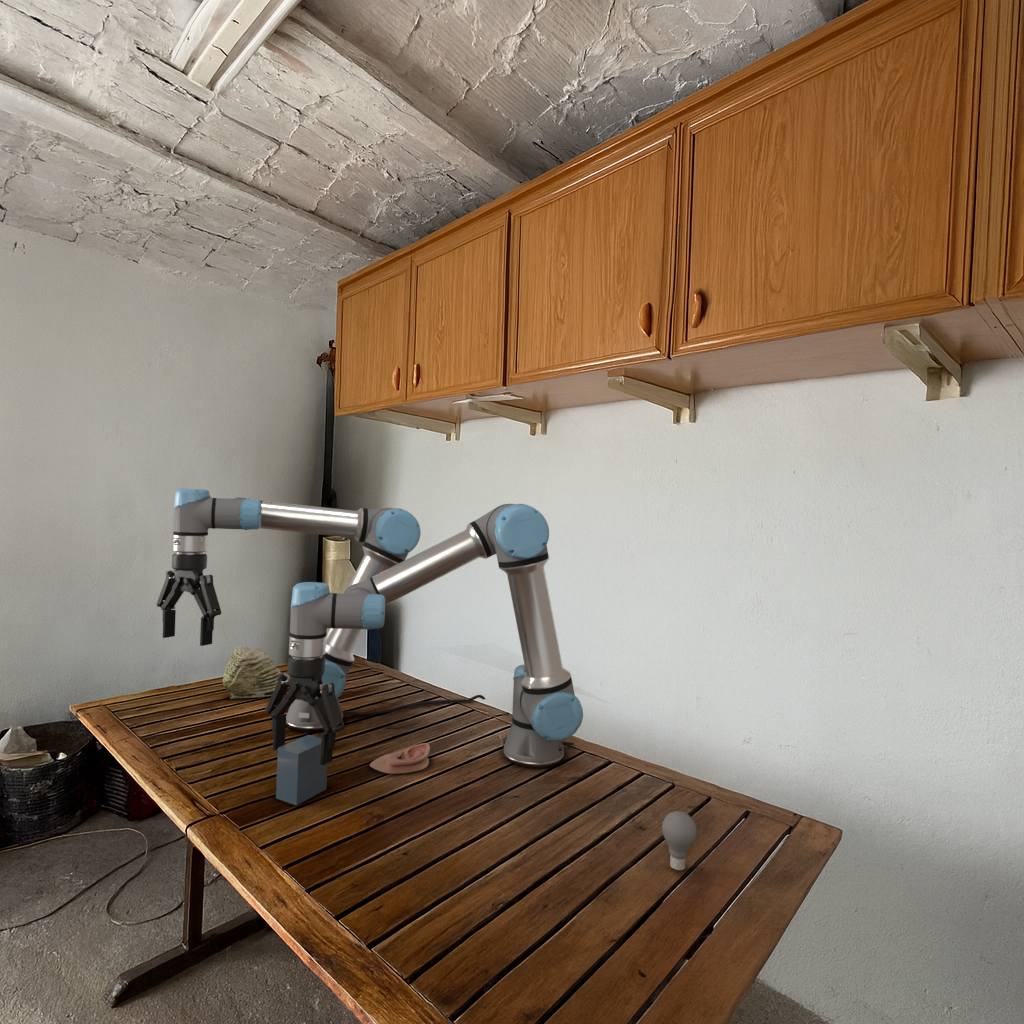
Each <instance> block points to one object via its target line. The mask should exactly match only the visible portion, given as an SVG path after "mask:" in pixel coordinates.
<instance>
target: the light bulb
mask: <svg viewBox="0 0 1024 1024" xmlns="http://www.w3.org/2000/svg"><path fill="white" fill-rule="evenodd" d="M661 831H662V836H663V837H664V839H665V842H666V844H667V847H668V852H669V855H670V858H669V859H670V860H669V866H670V867H671V868H672V869H674V870H676V871H683V870H685V869H686V858H687V856H688V854H689V850H690V848H691V847H692V846H693V844H694V842H695V841H696V838H697V835H698V830H697V824H696V823H695V821H694V820H693V818H692V817H691V816H690V815H689V814H688V813H687V812H684V811H680V810H674V811H671V812H669V813H668V814H667V815H666V816H665V817H664V818H663V821H662V824H661Z"/></svg>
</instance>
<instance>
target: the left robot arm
mask: <svg viewBox="0 0 1024 1024" xmlns="http://www.w3.org/2000/svg"><path fill="white" fill-rule="evenodd" d="M172 520H173V522H172V523H173V524H172V525H173V526H172V528H173V529H172V531H173V532H172V535H173V537H172V552H175V553H173V554H172V556H171V568H172V569H171V570H166V573H165V580H164V582H163V585H162V588H161V591H160V593H159V596H158V598H157V601H156V604H155V605H156V607H157V608H160V609H161V611H162V638H163V639H166V638H172V637H175V636H176V616H177V615H176V614H177V613H176V612H177V610H176V605H177V603H178V602H179V600H180V598H181V597H182V595H183V594H184V593H185V592H186V593H189V594H190V595H192V596H193V598H194V601H195V602H196V604H197V606H198V608H199V610H200V612H201V614H202V615H201V617H200V632H199V634H200V635H199V646H200V647H203V646H209V645H213V636H214V635H213V634H214V630H215V618H216V617H218V616H220V615H222V608H221V606H220V605H221V604H220V603H219V599H218V596H217V592H216V588H215V586H214V575H213V574H205V575H204V570H206V569H207V568H208V554H207V553H206V552H208V551H209V529H213V530H216V529H221V530H244V531H248V530H249V531H250V530H258V529H263V530H272V531H273V530H274V531H281V532H292V533H293V532H294V533H302V534H312V535H323V536H333V537H341V538H353V539H354V540H355V541H356V542H357V543H363V545H362V551H363V554H364V555H363V557H362V559H361V561H360V563H359V565H358V567H357V569H356V571H355V573H354V574H353V577H352V578H351V581H350V582H349V585H348V587H350V586H351V585H353V584H355V583H361V582H363V581H365V580H367V579H369V578H371V577H373V576H375V575H377V574H379V573H381V572H383V571H385V570H387V569H389V568H391V567H393V566H395V565H397V564H399V563H401V562H403V561H405V560H407V557H408V556H409V553H411V552H412V551H413V550H414V549H415V548H416V547H417V545H418V544H419V542H420V539H421V526H420V523H419V521H418V519H417V518H416V517H415V515H413V514H412V513H411V512H409V511H408V510H406V509H403V508H400V507H399V508H396V507H385V508H367V507H360V508H359V509H358V510H352V509H351V510H350V509H342V508H334V507H333V508H332V507H325V506H314V505H308V504H307V505H306V504H298V503H297V504H296V503H289V502H281V501H271V500H270V501H269V500H259V499H251V498H246V497H234V498H226V497H225V498H222V497H221V498H217V497H212V496H211V494H210V491H209V490H208V489H203V488H202V489H201V488H200V489H199V488H178V489H176V490H175V493H174V503H173V519H172ZM348 587H347V588H348ZM363 631H364V629H338V628H335V629H331V628H327V636H326V654H324V655H323V656H324V657H325V672H324V674H323V676H322V682H323V683H325V684H328V683H331V682H333V683H334V687H335V696H336V699H337V703H338V706H339V709H340V713H341V716H342V719H343V720H344V715H346V716H347V715H350V716H374V715H375V716H377V715H381V714H382V715H383V714H387V713H391V712H395V711H398V710H399V711H400V710H402V709H406V708H412V707H418V706H423V705H431V704H432V705H433V704H449V703H468V702H472V701H474V700H477V699H481V700H486V697H485V696H484V695H483V694H476V695H474V696H471V697H469V698H463V699H461V698H460V699H457V698H456V699H436V700H435V699H434V700H426V701H418V702H414V703H413V702H412V703H407V704H403V705H398V706H395V707H392V708H387V709H381V710H376V711H375V710H374V711H363V712H361V711H349V710H343V709H342V706H341V702H340V699H339V698H340V697H341V695H342V694H343V692H344V690H345V687H346V684H347V676H348V674H349V672H350V670H351V669H352V666H353V664H354V663H355V657H354V654H353V651H354V649H355V647H356V645H357V643H358V641H359V640H360V637H361V635H362V634H363ZM317 698H318V697H316V698H315V699H317ZM466 699H468V700H466ZM285 717H286V728H287V729H289V730H291V731H294V732H295V731H296V732H301V733H316V732H325V730H324V728H323V726H322V724H321V722H320V720H319V718H318V716H317V714H316V712H315V710H314V708H313V707H312V706H310V705H309V703H308V702H305V701H303V700H297V699H296V700H295V701H294V702H293V703H292V705H291V706H290V707H289V708H288V709H287V713H286V714H285ZM329 727H331V726H330V725H329Z"/></svg>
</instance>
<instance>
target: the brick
mask: <svg viewBox="0 0 1024 1024" xmlns="http://www.w3.org/2000/svg"><path fill="white" fill-rule="evenodd" d="M321 740H322V737H319V736H315V735H310V734H306V735H304V736H302V737H300V738H297V739H296V740H292V741H291V742H288V743H285V745H283V746H281V747H279V748H278V749H277V761H276V763H277V764H276V765H277V766H276V788H275V799H277V800H279V801H282V802H285V803H287V804H290V805H292V806H293V805H294V806H296V807H297V806H298V805H300V804H302V803H303V802H306V801H307V800H309V799H312V798H313V797H315V796H317V795H319V794H320V793H322V792H324V791H326V790H327V787H328V785H327V784H328V763H327V764H325V765H320V759H321Z"/></svg>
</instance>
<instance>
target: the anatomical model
mask: <svg viewBox="0 0 1024 1024" xmlns="http://www.w3.org/2000/svg"><path fill="white" fill-rule="evenodd" d="M430 751H431V745H430V744H429V743H427V742H424V743H423V742H422V743H419V744H415V745H412V746H408V747H406V748H403V749H401V750H397V751H395V752H392V753H387V754H384V755H382V756H380V757H377V758H376V759H374V760H373V761H371V762H370V763H369V767H370V768H372V769H373V770H375V771H378V772H380V773H384V774H389V775H390V774H391V775H392V774H395V775H396V774H409V773H414V772H418V771H421V770H424V769H426V768H427V767H429V764H430V759H429V755H430Z"/></svg>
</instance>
